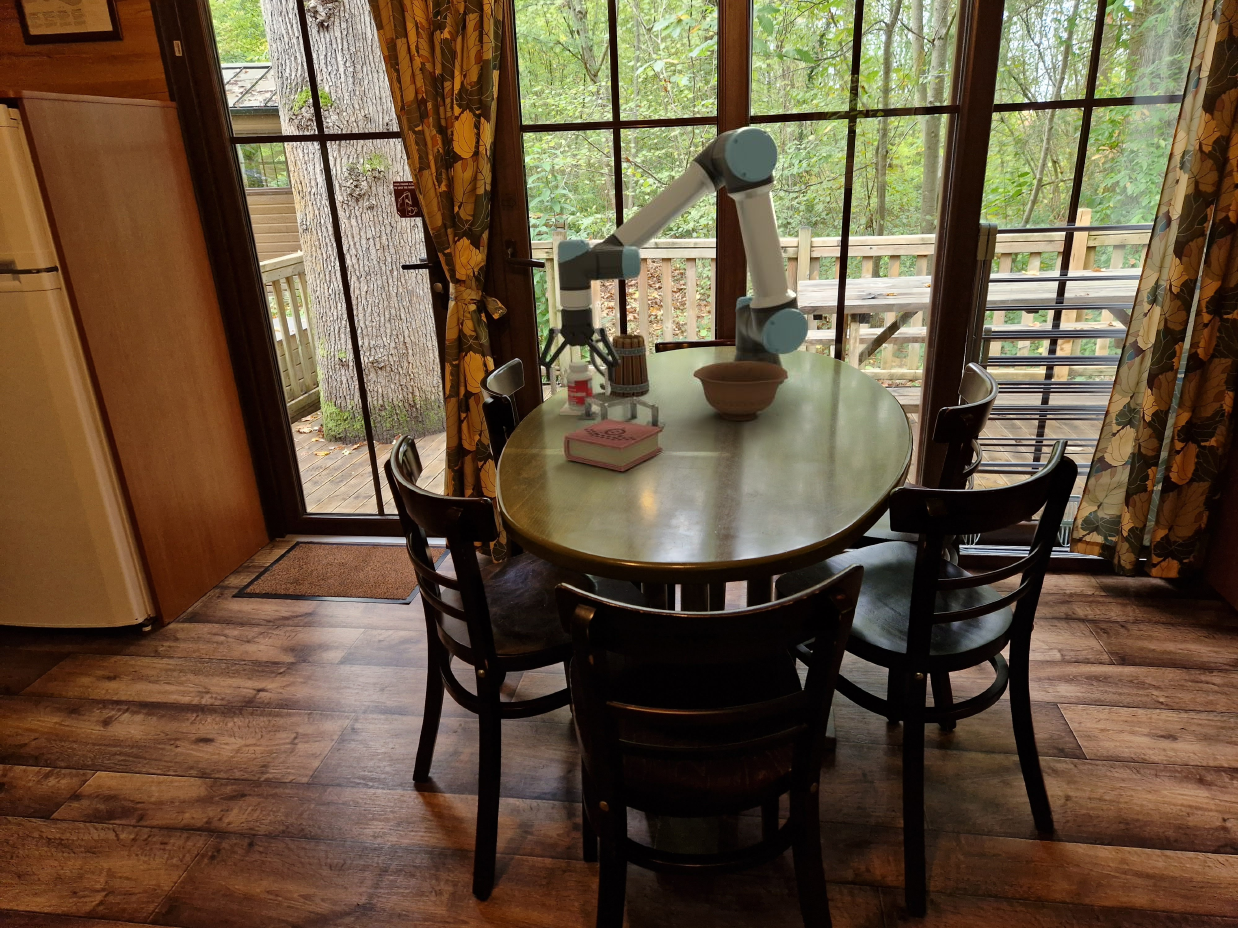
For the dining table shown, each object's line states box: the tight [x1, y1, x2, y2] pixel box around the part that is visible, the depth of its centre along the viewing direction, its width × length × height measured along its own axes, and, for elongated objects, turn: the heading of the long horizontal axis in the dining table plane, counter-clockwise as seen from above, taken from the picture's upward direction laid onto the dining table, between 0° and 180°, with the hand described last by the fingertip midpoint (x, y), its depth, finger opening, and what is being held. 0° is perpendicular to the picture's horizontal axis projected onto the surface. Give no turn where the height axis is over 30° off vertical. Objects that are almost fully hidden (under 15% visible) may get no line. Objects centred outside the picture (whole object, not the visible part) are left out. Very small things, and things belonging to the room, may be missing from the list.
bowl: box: [693, 361, 789, 422], centre depth 185 cm, size 22×22×11 cm
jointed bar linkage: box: [578, 396, 666, 430], centre depth 184 cm, size 21×11×5 cm, turn 81°
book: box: [563, 418, 664, 472], centre depth 163 cm, size 14×15×5 cm
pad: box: [559, 401, 601, 416], centre depth 196 cm, size 9×9×1 cm
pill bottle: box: [566, 361, 594, 410], centre depth 192 cm, size 6×6×11 cm
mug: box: [589, 333, 651, 398], centre depth 209 cm, size 16×11×15 cm
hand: (580, 393), depth 194 cm, fingers open, 13 cm apart
